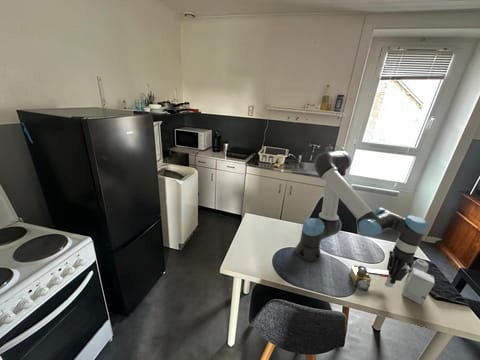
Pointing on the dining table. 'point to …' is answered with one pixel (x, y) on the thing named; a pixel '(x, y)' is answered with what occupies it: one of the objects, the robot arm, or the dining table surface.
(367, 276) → the valve
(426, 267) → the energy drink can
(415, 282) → the skincare box
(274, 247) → the dining table surface
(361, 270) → the lever
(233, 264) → the dining table surface
